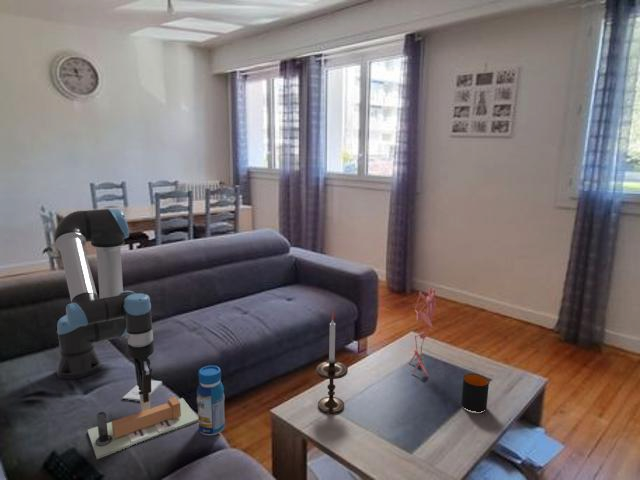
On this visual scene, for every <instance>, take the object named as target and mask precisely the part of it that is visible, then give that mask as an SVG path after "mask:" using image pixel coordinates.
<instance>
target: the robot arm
mask: <svg viewBox="0 0 640 480" xmlns="http://www.w3.org/2000/svg"><path fill="white" fill-rule="evenodd" d="M128 225H129V224H128V221H127V218H126V216H125V213H124V212H123V210H121V209H118V208H105V209H104V208H102V209H90V210H89V209H88V210H76V211H73V212H70V213H68V214H67V215H66V216H64V217H63V218H62V219H61V221H59V223H58V224H57V226H56V228H55V231H54V237H53V241H54V245H55V247H56V249H57V250H58V251H60V252H59V253H60V256H61V260H62V265H63V271H64V274H65V275H64V276H65V279H66V283H67V284H66V285H67V288H68V293H69V297H70V302H71V303H68V304H67V305H65V315H63V316H62V317H60V318H59V320H58V321H57V325H56V326H57V330H56V334H57V335H58V345H59V354H60V356H59V360H58V364H57V368H56V375H57V377H58V378H59V379H62V380H79V379H82V378H86V377H89V376H91V375H93V374H95V373H96V372H98V371H99V369H101V359H100V358H99V356H98V354H97V352H96V350H95V346H94V343H99V342H104V341H109V340H112V339H117V338H122V337H125V339H127V344H128V345H127V351H128V356H129V357H130V358H132V359H133V363H134V370H135V377H136V385H137V386H139V390H141V391H139V395H140V402H139V403H140V411H141V412H142V411H145V410H148V409H151V395H150V392H151V380H152V372H153V369H152V368H151V367H150V365H151V362H150V361H151V360H150V359H151V358H149V357H150V356H151V355H153V353H154V351H155V347H154V341H153V340H154V334H153V333H154V331H153V329H154V328H153V321H152V319H153V318H152V303H151V297H150V295H148V294H146V293H145V294H144V293H139V292H138V293H136V292H134V291H133V290H124V286H123V268H122V267H123V266H122V253H121V248H122V247H123V246H124V244H125V239H127V238H129V237H130V230H129V226H128ZM88 242H89V243H90V244H91V247H93V248H94V249H95V252H96V253H95V254H96V265H97V268H96V269H97V278H98V291H99V297H98V293H97V289H96V286H95V280H94V278H93V273H92V271H91V266H90V262H89V259H88V255H87V250H86V247H85V246H86V244H87V243H88Z"/></svg>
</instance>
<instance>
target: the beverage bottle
mask: <svg viewBox="0 0 640 480" xmlns="http://www.w3.org/2000/svg"><path fill="white" fill-rule="evenodd" d="M197 376H198V383H199V384H198V386H197V388H196V389H197V390H196V395H197V396H196V403H197V414H198V415H197V417H198V418H199V421H198V431H199V432H200V433H201V434H202V435H204V436H215V435H218V434H220V433H221V432H222V431H223V430H224V429H225V428H226V420H225V399H226V398H225V393H224V391H225V387H224V385H223V383H222V381H221V380H222V370H221V368H220V367H219V366H217V365H206V366H203V367H201V368H200V369H199V370H198V374H197Z"/></svg>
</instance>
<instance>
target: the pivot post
mask: <svg viewBox="0 0 640 480" xmlns="http://www.w3.org/2000/svg"><path fill="white" fill-rule="evenodd" d="M96 423H97V426H98V434H99V438H97V439H96V445H97V446H105V445H108V444H109V443H110V442H111V441H112V436H110V435H108V431H107V423H108V422H107V414H106V412H105V411H101V412H98V413H97V414H96Z"/></svg>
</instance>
